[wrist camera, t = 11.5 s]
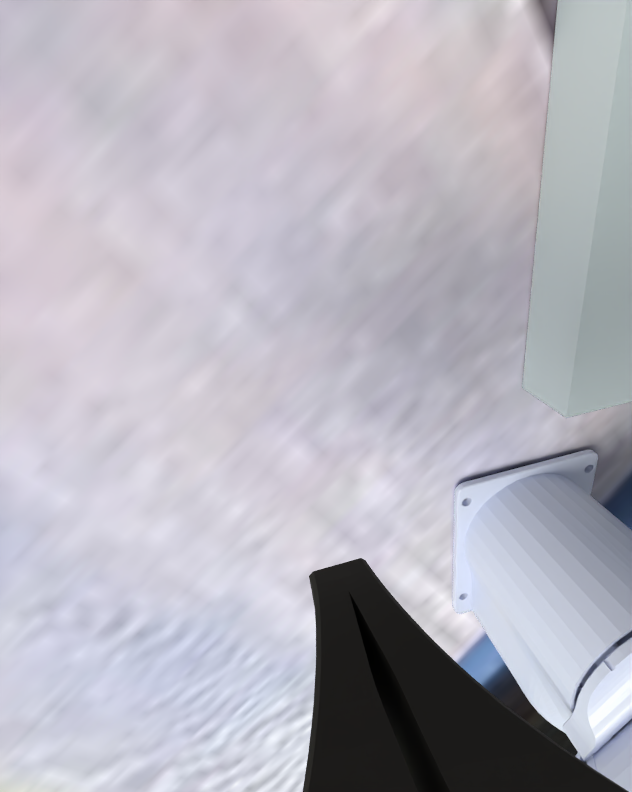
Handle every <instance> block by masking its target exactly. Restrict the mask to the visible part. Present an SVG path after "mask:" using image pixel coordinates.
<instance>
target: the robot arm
mask: <svg viewBox="0 0 632 792" xmlns="http://www.w3.org/2000/svg"><path fill="white" fill-rule="evenodd" d="M597 461H598V455H597V453H595V452H594V451H593V450H590V449H589V450H584V451H580V452H576V453H572V454H569V455H565V456H561V457H557V458H554V459H550V460H546V461H542V462H538V463H535V464H531V465H527V466H523V467H520V468H516V469H512V470H508V471H504V472H501V473H497V474H493V475H489V476H486V477H482V478H478V479H474V480H471V481H467V482H463V483H461V484H459V485H458V486H457V487H456V489H455V492H454V543H453V595H452V606H453V609H454V611H455V612H456V613H459V614H462V613H466V612H469V611H473V613H474V614H475V616H476V617H477V619H478V621H479V622H480V624H481V625H482V627H483V629H484V630H485V632H486V633H487V635H488V637H489V638H490V640H491V641H492V643H493V644H494V646H495V648H496V649H497V651H498V652H499V654H500V656H501V657H502V659H503V660H504V662H505V664H506V665H507V667H508V668H509V670H510V672H511V673H512V675H513V676H514V678H515V679H516V681H517V683H518V684H519V686H520V687H521V689H522V691H523V692H524V694H525V695H526V697H527V699H528V700H529V701H530V703H531V704H532V705H533V707H534V708H535V709H536V710H537V711H538V712H539V713H540V714H541V715H542V716H543V717H544V718H545V719H546V720H547V721H548V722H550V723H551V724H552V725H554V726H555V727H557V728H558V729H560V730H561V731H563V732H564V733H566V734H567V736H568V737H569V739H570V740H571V742H572V743H573V745H574V747H575V748H576V750H577V751H578V753H577V755H576V756H574V755H572V754H571V753H569V752H568V751H566V750H565V749H564V748H562V747H561V746H559V745H558V744H557V743H555V742H554V741H553V740H551V739H550V738H549V737H547V736H546V735H545V734H543V733H542V732H540V731H539V730H538V729H536V728H535V727H534V726H532V725H531V724H530V723H528V722H527V721H526V720H524V719H523V718H521V717H520V716H519V715H517V714H516V713H515V712H514V711H512V710H511V709H510V708H509V707H507V706H506V705H505V704H504V703H502V702H501V701H500V700H499V699H497V698H496V697H495V696H494V695H493V694H491V693H490V692H489V691H488V690H487V689H485V688H484V687H483V686H482V685H481V684H480V683H478V682H477V681H476V680H475V679H474V678H473V677H471V676H470V675H469V674H468V673H467V672H466V671H465V670H464V669H463V668H461V667H460V666H459V665H458V664H457V663H456V662H455V661H454V660H453V659H452V658H451V657H450V656H449V655H448V654H447V653H446V652H445V651H444V650H442V649H441V648H440V647H439V646H438V645H437V644H436V643H435V642H434V641H433V640H432V639H431V638H430V637H429V636H428V635H427V634H426V633H425V632H424V630H423V629H422V628H421V627H420V626H419V625H418V624H417V623H416V622H415V621H414V620H413V619H412V618H411V616H410V615H409V614H408V613H407V612H406V611H405V610H404V609H403V608H402V607H401V605H400V604H399V603H398V602H397V601H396V600H395V598H394V597H393V596H392V595H391V594H390V592H389V591H388V590H387V589H386V588H385V586H384V585H383V584H382V583H381V581H380V580H379V579H378V577H377V576H376V575H375V573H374V572H373V571H372V569H371V568H370V566H369V565H368V564H367V562H366V561H365V560H364V559H362V558H360V559H356V560H353V561H349V562H346V563H342V564H338V565H335V566H331V567H328V568H324V569H321V570H317V571H314V572H312V574H311V575H310V576H309V578H310V584H311V589H312V595H313V600H314V606H315V616H316V675H315V693H314V707H313V718H312V728H311V737H310V745H309V753H308V760H307V767H306V774H305V781H304V788H303V792H632V530H631V529H629V528H628V527H627V526H626V525H625V524H623V523H622V522H621V521H620V520H619V519H618V518H616V517H615V516H614V515H613V514H612V513H610V512H609V511H608V510H607V509H606V508H604V507H603V506H602V505H601V504H600V503H598V502H597V501H596V500H595V499H594V498H592V497H591V493H592V488H593V482H594V477H595V472H596V467H597ZM466 498H467V499H466ZM464 499H466V500H464ZM463 500H464V501H463Z"/></svg>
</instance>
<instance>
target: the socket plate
mask: <svg viewBox="0 0 632 792" xmlns="http://www.w3.org/2000/svg"><path fill="white" fill-rule="evenodd" d="M522 388H523V389H525V390H526V391H527V392H529V393H530V394H532V395H533V396H535V397H536V398H538V399H539V400H541V401H542V402H543V403H545V404H546V405H548V406H549V407H551V408H552V409H554V410H555V411H557V412H558V413H559V414H561V415H562V416H564V417H565V418H569V417H573V416H577V415H581V414H585V413H589V412H593V411H597V410H601V409H605V408H609V407H613V406H617V405H620V404H624V403H628V402H632V0H558V4H557V15H556V26H555V37H554V48H553V59H552V69H551V80H550V91H549V102H548V113H547V124H546V134H545V145H544V156H543V167H542V178H541V189H540V199H539V210H538V221H537V232H536V243H535V254H534V264H533V275H532V286H531V297H530V308H529V319H528V329H527V340H526V351H525V362H524V373H523V384H522Z"/></svg>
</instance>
